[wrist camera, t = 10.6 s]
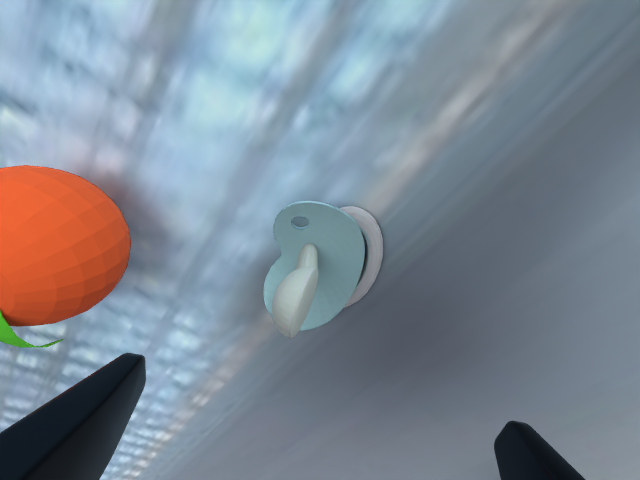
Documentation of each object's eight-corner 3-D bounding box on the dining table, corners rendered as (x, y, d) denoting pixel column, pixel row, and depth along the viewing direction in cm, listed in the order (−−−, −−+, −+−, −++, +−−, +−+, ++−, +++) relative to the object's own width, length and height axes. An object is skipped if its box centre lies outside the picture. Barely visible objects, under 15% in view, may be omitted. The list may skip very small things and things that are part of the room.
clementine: (174, 286, 20) (98, 386, 13) (61, 288, 20) (-66, 387, 14) (136, 147, 16) (7, 193, 10) (0, 153, 16) (-212, 200, 10)
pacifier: (397, 203, 17) (282, 180, 17) (436, 265, 11) (263, 233, 11) (361, 314, 20) (263, 297, 20) (376, 405, 15) (240, 386, 14)
